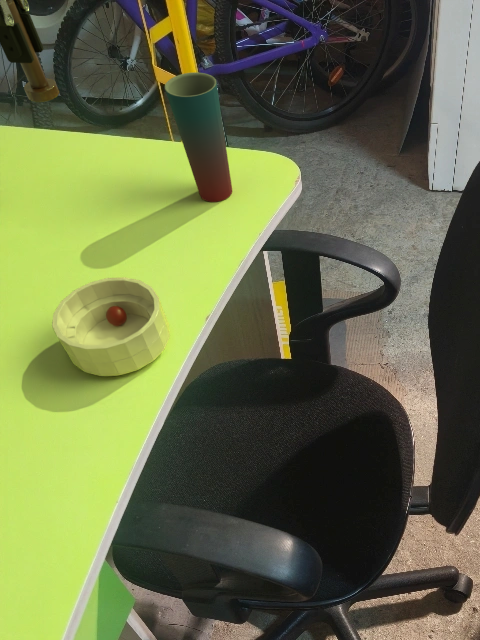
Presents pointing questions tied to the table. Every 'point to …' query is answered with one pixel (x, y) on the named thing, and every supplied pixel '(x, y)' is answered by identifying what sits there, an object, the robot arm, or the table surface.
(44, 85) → the masher
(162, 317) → the bowl
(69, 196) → the table surface
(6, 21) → the robot arm
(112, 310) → the red ball
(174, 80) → the cup
